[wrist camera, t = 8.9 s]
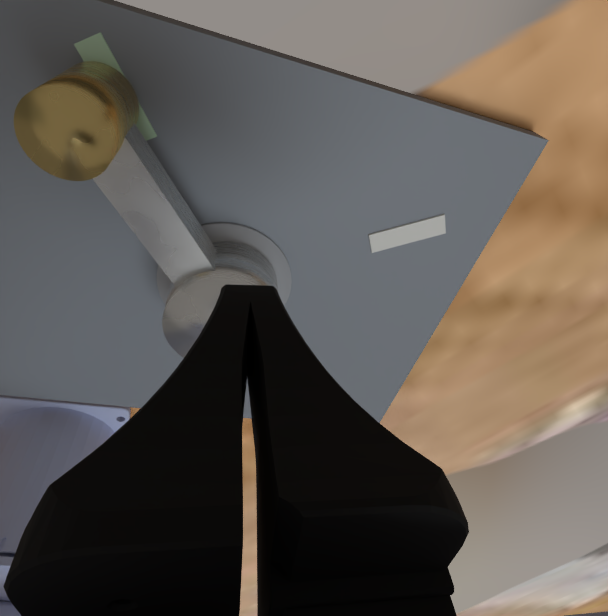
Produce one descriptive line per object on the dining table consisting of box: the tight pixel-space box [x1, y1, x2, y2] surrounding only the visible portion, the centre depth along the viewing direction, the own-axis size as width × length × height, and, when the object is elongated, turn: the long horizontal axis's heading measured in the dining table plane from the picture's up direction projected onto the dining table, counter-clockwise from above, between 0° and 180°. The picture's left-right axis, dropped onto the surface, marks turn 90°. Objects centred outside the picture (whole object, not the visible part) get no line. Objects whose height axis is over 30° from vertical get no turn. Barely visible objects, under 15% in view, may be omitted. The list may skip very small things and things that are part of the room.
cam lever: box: [14, 61, 279, 358], centre depth 17 cm, size 13×5×4 cm, turn 23°
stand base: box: [0, 0, 549, 423], centre depth 22 cm, size 20×24×1 cm
